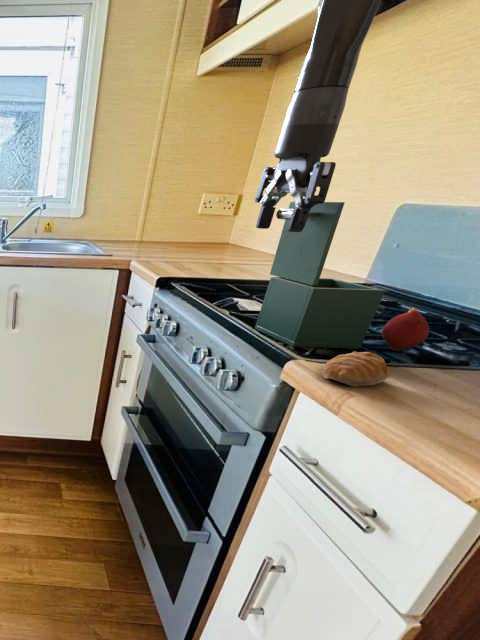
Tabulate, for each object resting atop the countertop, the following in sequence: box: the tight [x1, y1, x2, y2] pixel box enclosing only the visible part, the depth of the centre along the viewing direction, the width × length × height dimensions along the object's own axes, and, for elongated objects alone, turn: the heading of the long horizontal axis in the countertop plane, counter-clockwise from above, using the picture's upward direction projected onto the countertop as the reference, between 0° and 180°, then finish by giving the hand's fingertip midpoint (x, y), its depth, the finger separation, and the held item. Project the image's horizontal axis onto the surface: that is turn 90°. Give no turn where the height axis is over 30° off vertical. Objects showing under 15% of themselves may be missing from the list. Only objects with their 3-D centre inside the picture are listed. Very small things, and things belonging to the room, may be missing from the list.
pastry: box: [322, 350, 391, 388], centre depth 63 cm, size 9×7×4 cm
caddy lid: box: [269, 200, 345, 286], centre depth 76 cm, size 13×12×5 cm
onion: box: [381, 307, 430, 352], centre depth 76 cm, size 6×6×8 cm
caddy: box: [254, 276, 386, 350], centre depth 81 cm, size 13×12×11 cm
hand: (277, 230), depth 75 cm, fingers open, 8 cm apart
